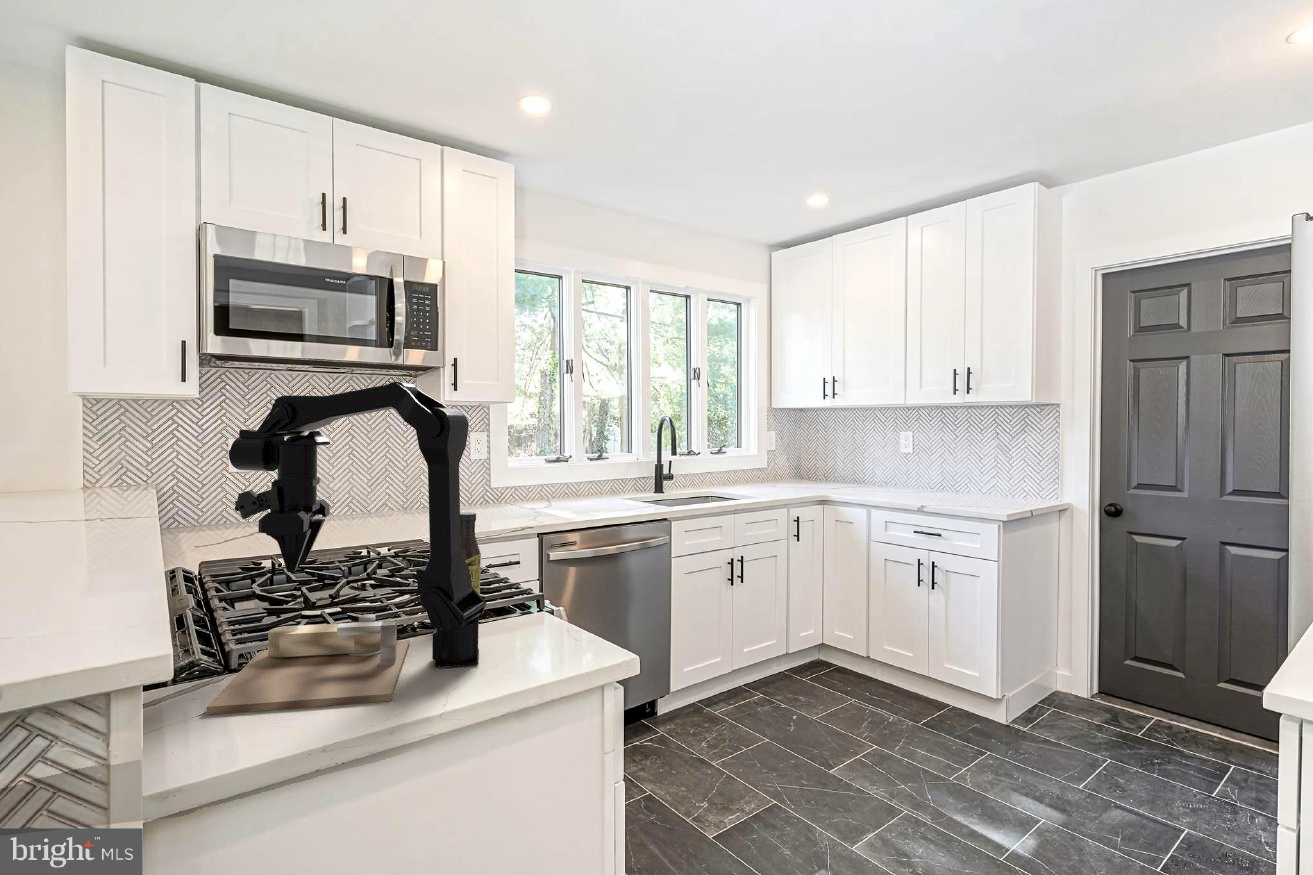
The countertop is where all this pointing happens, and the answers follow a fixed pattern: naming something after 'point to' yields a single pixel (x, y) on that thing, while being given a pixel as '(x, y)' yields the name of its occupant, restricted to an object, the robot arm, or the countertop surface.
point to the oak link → (318, 641)
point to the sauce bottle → (470, 547)
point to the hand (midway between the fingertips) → (296, 567)
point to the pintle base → (318, 675)
